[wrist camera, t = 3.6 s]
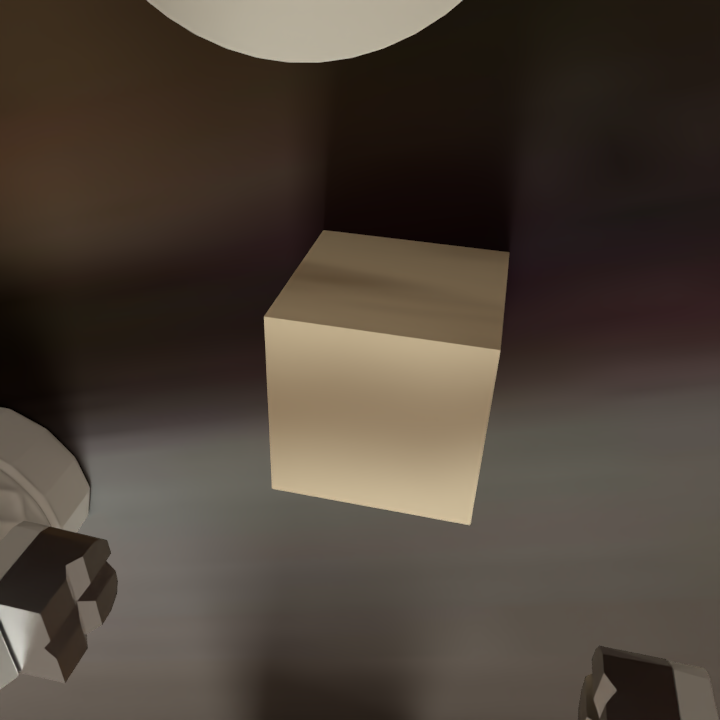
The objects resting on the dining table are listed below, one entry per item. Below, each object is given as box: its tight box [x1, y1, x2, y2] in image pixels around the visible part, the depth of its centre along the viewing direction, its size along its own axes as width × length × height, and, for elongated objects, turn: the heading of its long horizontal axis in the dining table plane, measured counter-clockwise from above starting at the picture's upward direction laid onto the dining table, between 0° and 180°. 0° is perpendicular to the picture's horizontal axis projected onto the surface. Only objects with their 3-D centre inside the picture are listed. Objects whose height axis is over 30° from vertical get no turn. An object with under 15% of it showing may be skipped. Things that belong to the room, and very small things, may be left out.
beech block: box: [264, 230, 509, 525], centre depth 18 cm, size 5×5×5 cm
